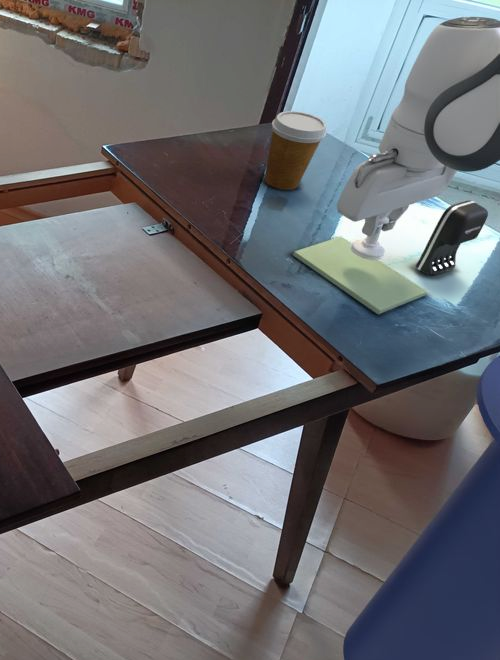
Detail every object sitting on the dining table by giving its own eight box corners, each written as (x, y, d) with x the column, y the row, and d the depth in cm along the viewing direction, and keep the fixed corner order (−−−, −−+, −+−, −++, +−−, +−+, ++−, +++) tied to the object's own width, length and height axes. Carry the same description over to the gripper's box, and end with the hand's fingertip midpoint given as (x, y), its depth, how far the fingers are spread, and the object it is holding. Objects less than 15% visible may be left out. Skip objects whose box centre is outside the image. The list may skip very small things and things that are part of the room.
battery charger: (432, 281, 108) (467, 217, 100) (412, 268, 110) (445, 205, 102) (460, 271, 110) (497, 208, 103) (440, 258, 113) (474, 196, 105)
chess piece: (383, 263, 103) (412, 204, 96) (349, 255, 104) (375, 196, 97) (383, 247, 106) (411, 188, 99) (350, 239, 107) (375, 181, 100)
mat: (425, 295, 105) (427, 291, 104) (377, 314, 100) (380, 310, 100) (339, 240, 115) (340, 236, 115) (292, 255, 111) (294, 251, 110)
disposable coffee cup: (284, 167, 135) (304, 107, 127) (317, 190, 128) (340, 128, 120) (245, 174, 131) (263, 113, 124) (277, 197, 125) (298, 135, 117)
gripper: (385, 167, 87) (345, 258, 96) (481, 141, 95) (436, 226, 105) (346, 147, 91) (312, 236, 100) (442, 123, 99) (402, 207, 109)
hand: (376, 231), depth 102 cm, fingers closed on chess piece
